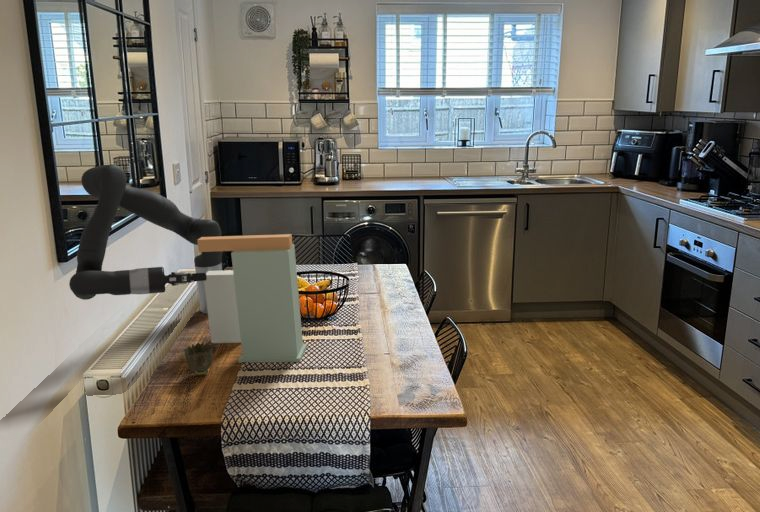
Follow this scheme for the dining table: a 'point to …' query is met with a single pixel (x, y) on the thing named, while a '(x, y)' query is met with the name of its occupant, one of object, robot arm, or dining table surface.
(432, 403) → the dining table surface
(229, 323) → the post
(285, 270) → the stand
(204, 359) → the cup
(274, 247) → the bar
